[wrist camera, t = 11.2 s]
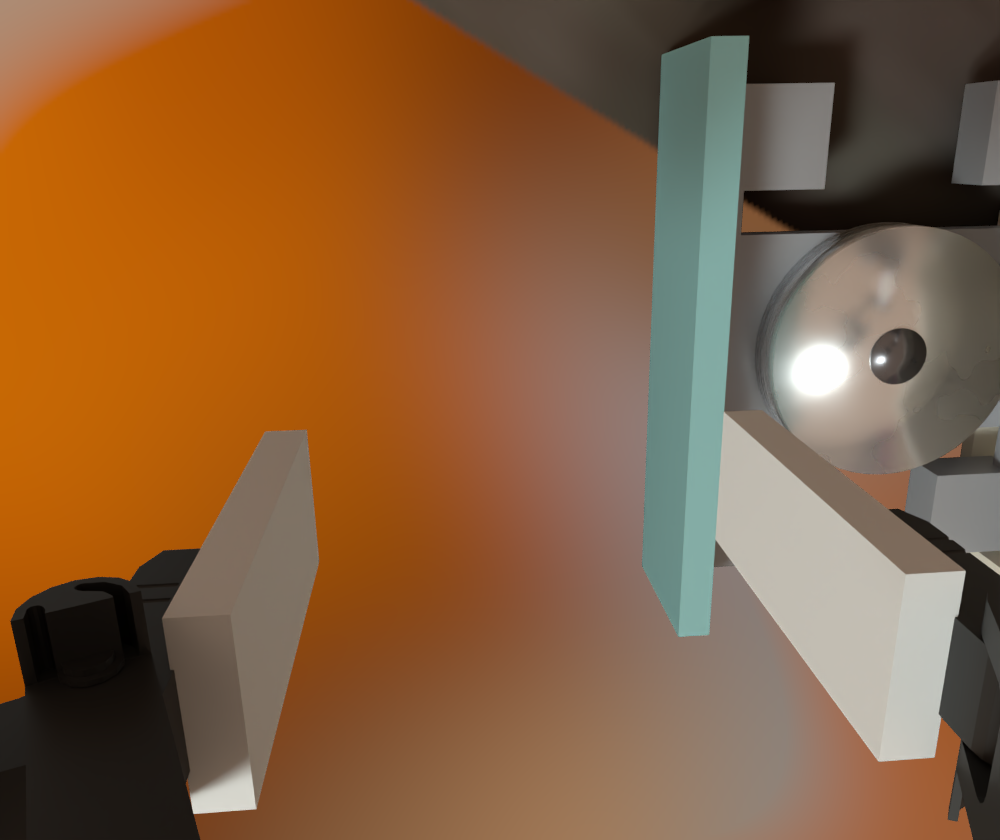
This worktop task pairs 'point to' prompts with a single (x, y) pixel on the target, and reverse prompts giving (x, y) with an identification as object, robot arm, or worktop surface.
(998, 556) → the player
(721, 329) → the teal grey flat block
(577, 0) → the worktop surface
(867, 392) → the disc
